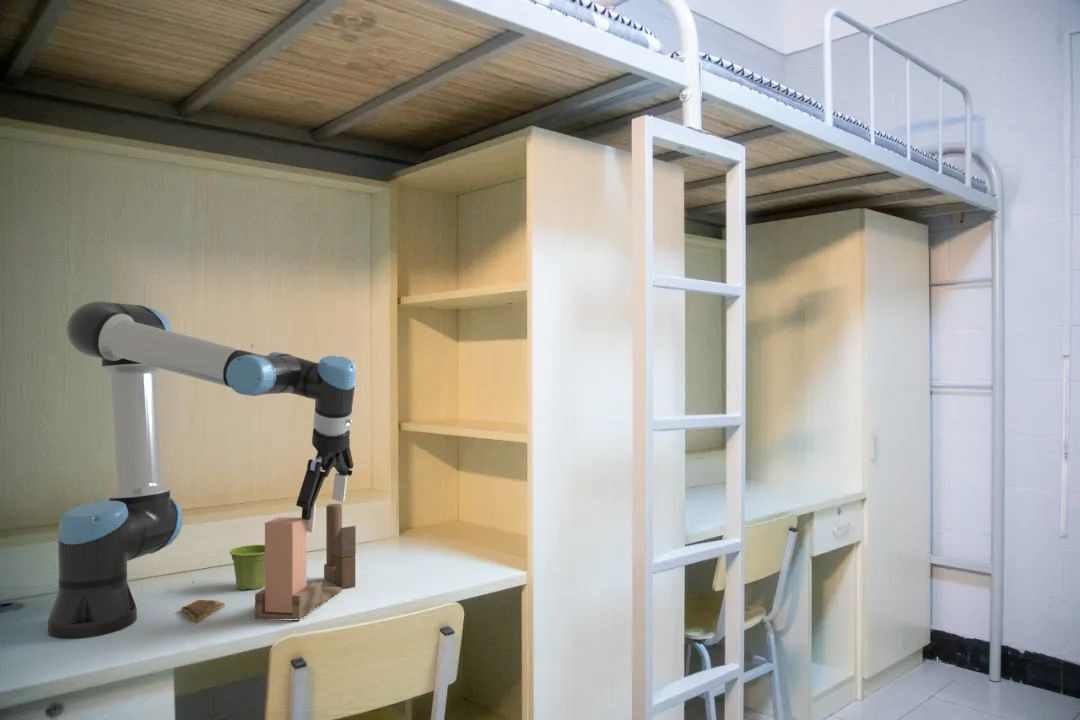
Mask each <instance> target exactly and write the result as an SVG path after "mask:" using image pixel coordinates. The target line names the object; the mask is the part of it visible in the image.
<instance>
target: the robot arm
mask: <svg viewBox="0 0 1080 720" xmlns="http://www.w3.org/2000/svg"><path fill="white" fill-rule="evenodd" d="M66 333H67V337H68V340H69V342H70V344H71V345H72V346H73V347H74V348H75V349H76V351H78V352H79V353H81V354H84V355H85V356H88V357H93V358H100V359H101V368H102V370H103V371H105V372H106V373H108V374H109V375H110V383H111V387H110V388H111V402H112V404H111V405H112V420H113V436H114V453H115V454H114V455H115V456H114V457H115V474H116V475H115V476H116V488H115V489H114V490H113V491H112V492H111V493H110V494H109V496H108V497H109V498H108V499H109V500H105V501H104V500H103V501H96V502H92V503H85V504H81V505H79V506H76V507H73V508H70V509H68V510H67V511H65V512H63V515H61V517H60V519H59V525H58V527H59V528H58V533H57V539H58V590H57V591H58V592H57V595H56V597H55V600H54V602H53V606H52V608H51V610H50V611H51V612H50V613H49V617H48V619H47V633H48V635H50V636H52V637H56V638H63V639H64V638H66V639H67V638H68V639H70V638H71V639H73V638H76V639H77V638H87V637H92V636H99V635H104V634H109V633H111V632H115V631H118V630H121V629H124V628H127V627H128V626H131V625H132V624H133V623H135V622H136V621H137V618H138V616H137V615H138V612H137V610H138V608H137V604H136V602H135V599H134V597H133V594H132V592H131V588H130V585H129V583H128V562H129V561H132V560H133V559H137V558H141V557H143V556H145V555H146V556H147V555H148V554H149V555H150V554H155V553H156V552H159V551H161V550H162V549H164V548H166V547H167V546H169V545H170V544H172V543H173V542H174V541H175V540H176V539H177V537H179V535H180V532H181V530H182V526H183V521H184V519H183V518H184V517H183V512H182V511H183V510H182V508H181V506H180V504H178V503H177V501H176V500H175V499H174V498H173V497H171V489H170V487H168V486H167V485H166V484H165V483H164V482H163V481H162V464H161V450H160V449H161V448H160V445H161V444H160V429H159V411H158V410H159V409H158V396H157V395H158V393H157V390H158V389H157V376H156V375H157V372H158V371H159V370H160V369H162V370H165V371H168V372H173V373H176V374H180V375H184V376H187V377H191V378H195V379H198V380H203V381H207V382H210V383H214V384H218V385H222V386H225V387H228V388H231V389H232V390H233V391H234V392H235V393H236V394H238V395H244V396H252V397H257V396H262V395H271V394H272V395H273V394H274V395H275V394H293V395H296V396H301V397H304V398H308V399H310V400H315V401H314V403H315V404H314V405H315V406H314V415H313V423H312V424H313V429H312V438H311V443H312V446H313V447H314V449H316V451H317V452H316V456H315V459H311V458H310V459H308V462H307V466H306V471H305V475H304V478H303V481H302V484H301V488H300V489H299V490H300V491H299V494H298V497H297V499H296V504H295V506H297V507H299V508H301V517H300V518H302V519H304V520H306V532H307V533H311V534H312V533H314V531H315V524H316V512H317V504H315V503H316V500H317V498H318V495H319V493H320V491H321V488H322V486H323V484H324V481H325V479H326V478H327V477H329V475H330V472H331V470H332V469H333V468H334V469H335V471H336V473H334V478H333V486H332V487H333V488H332V497H331V498H332V500H334V501H337V502H341V503H344V502H345V500H346V492H347V483H348V476H349V477H350V476H352V474H353V470H352V469H353V468H354V462H353V458H352V457H353V456H352V453H351V447H350V445H351V442H350V441H351V439H350V436H351V435H350V433H351V432H350V429H351V424H352V423H353V419H352V412H353V402H354V396H355V387H356V384H357V381H356V374H357V372H356V371H357V370H356V369H357V366H356V364H355V363H354V362H353V360H351V359H350V358H347V357H345V356H336V355H327V356H324V357H323V358H321V359H320V360H319V361H318V362H315V361H311V360H308V359H304V358H302V357H301V358H300V357H297V356H294V355H292V354H290V353H282V352H277V351H274V352H273V351H272V352H271V353H270V352H269V354H267V355H264V354H263V355H262V354H258V353H255V352H251V351H247V350H242V349H239V348H235V347H231V346H228V345H223V344H219V343H215V342H213V341H208V340H205V339H201V338H197V337H194V336H189V335H186V334H182V333H178V332H174V331H173V330H172V326H171V324H170V322H169V321H168V319H167V318H166V317H165V315H163V314H162V313H161V312H160V311H158V310H156V309H154V308H152V307H147V306H145V305H144V306H143V305H142V304H129V303H128V304H127V303H116V302H110V301H91V302H87V303H85V304H83V305H81V306H79V307H78V308H76V309H75V310H74V311H73V312H72V314H71V315H70V317H69V319H68V321H67V325H66Z"/></svg>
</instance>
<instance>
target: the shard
mask: <svg viewBox="0 0 1080 720" xmlns="http://www.w3.org/2000/svg"><path fill="white" fill-rule="evenodd" d="M225 606H226V603H225V602H222V601H219V600H213V599H211V600H210V599H197V600H195V601H193V602H192V603H189V604H187V605H185V606H182V607H181V611H182V612H183V613H184V614H187V615H188V617H189V618H190V619H191V620H192V621H194V622H195V623H197V624H199V623H200V622H202V621H203V620H205V619H206V618H208V617H209V616H211V615H213V614H214V613H216V612H217V611H219V610H222V609H223V608H225Z"/></svg>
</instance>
